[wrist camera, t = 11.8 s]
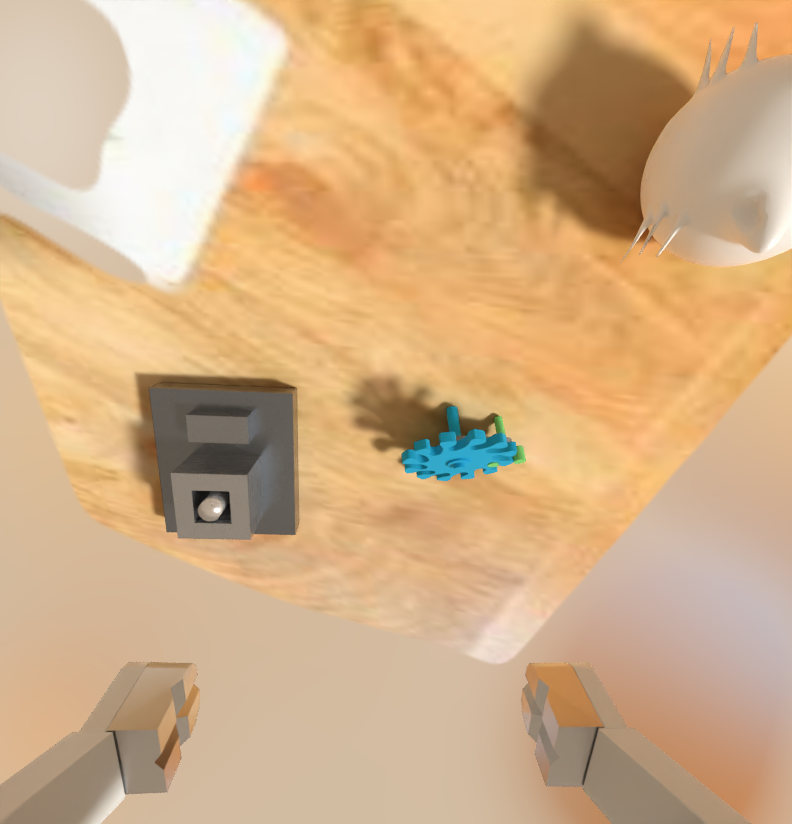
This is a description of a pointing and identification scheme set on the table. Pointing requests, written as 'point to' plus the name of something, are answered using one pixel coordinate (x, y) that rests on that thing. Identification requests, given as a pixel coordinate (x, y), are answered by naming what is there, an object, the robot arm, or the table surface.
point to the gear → (462, 452)
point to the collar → (218, 475)
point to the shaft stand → (231, 443)
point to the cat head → (725, 166)
